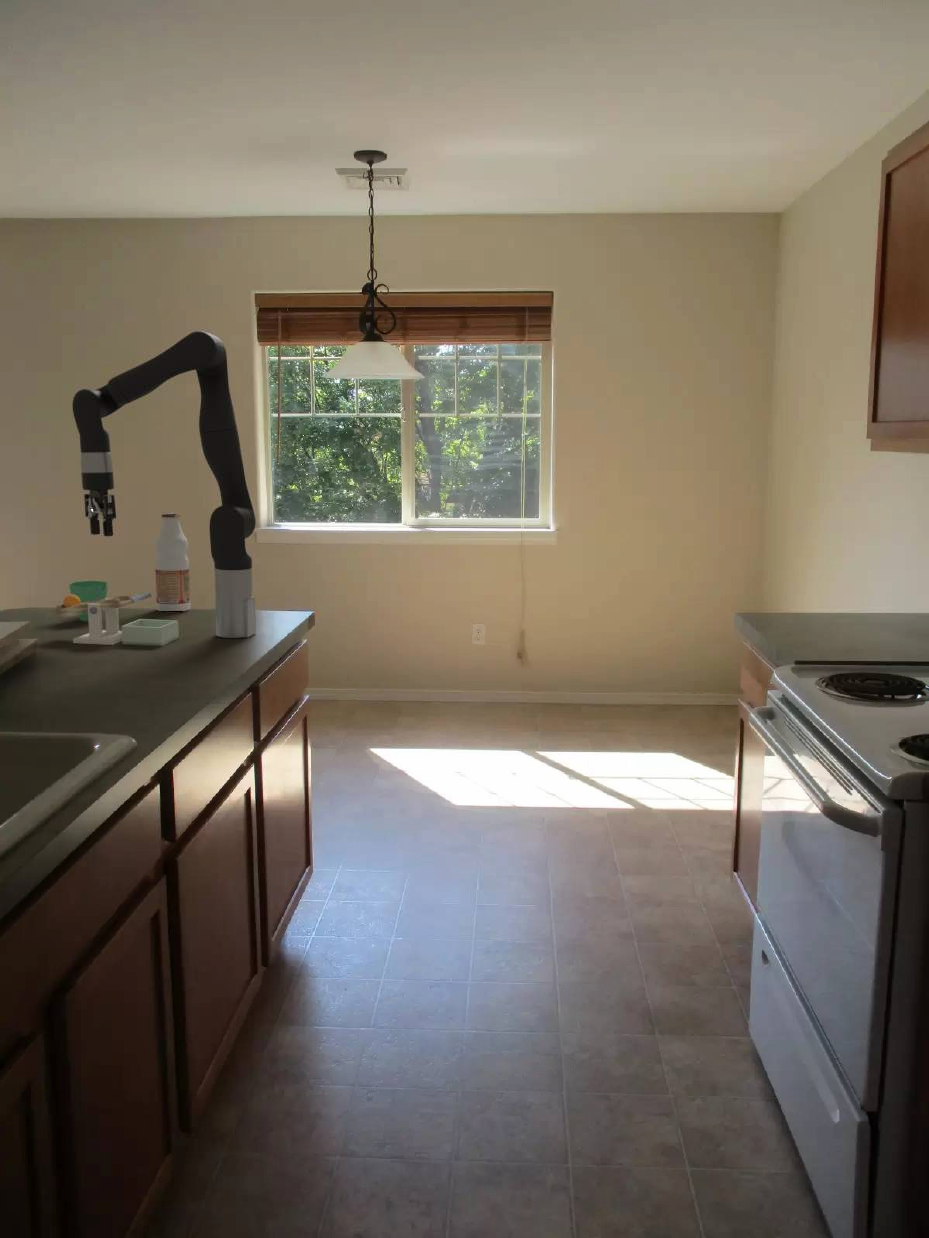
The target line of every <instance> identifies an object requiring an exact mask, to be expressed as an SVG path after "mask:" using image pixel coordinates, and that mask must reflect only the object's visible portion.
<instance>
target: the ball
mask: <svg viewBox="0 0 929 1238" xmlns="http://www.w3.org/2000/svg"><path fill="white" fill-rule="evenodd" d="M62 604H64V606H65V608H67V607H73V606H78V605H81V601H80V598H79V597H78V596H76V595H73V594H71V593H70V594H69V595H66V596H65V597H64V599H63V603H62Z"/></svg>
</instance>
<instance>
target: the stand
mask: <svg viewBox="0 0 929 1238" xmlns="http://www.w3.org/2000/svg"><path fill="white" fill-rule="evenodd" d="M108 598H109V597H106V598H105V599H108ZM104 612H105V629H103V618H102V613H103V612H101V604H90V603H89V604H88V620H89V621H88V633H85V634H83V635H80V636H77V637H74V638H73V639H72V642H73V644H85V645H87V644H88V645H107V646H108V645H109V646H111V645H112V646H113V645H116V644H119V643H120V642H122V630H120V626H119V625H120V623H119V608H114V609H108V610H104Z"/></svg>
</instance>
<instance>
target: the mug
mask: <svg viewBox="0 0 929 1238" xmlns="http://www.w3.org/2000/svg"><path fill="white" fill-rule="evenodd" d="M68 587H69V591H70V592H69V593H70V595H71V594H73V595H76V596H78V597H79V598H80V601H81V603H86V602H91V601H97V600H102V599H105V598H107V594H108V588H109V584H108V582H106V581H103V580H101V581H99V580H86V581H85V580H84V581H83V580H82V581H75V582H70V583H68ZM103 611H104V610H103ZM103 611H101V612H102V613H103ZM78 617H79V620H80V621H81V622H89V620H88V613H86V614H80V615H78Z"/></svg>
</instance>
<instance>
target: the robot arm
mask: <svg viewBox="0 0 929 1238" xmlns="http://www.w3.org/2000/svg"><path fill="white" fill-rule="evenodd" d="M228 369H229V368H228V356H227V349H226V346H225V345H224V342H223V341H222V340H221V339H220V338H219V337H218V336H216V335H215V334H212V333H208V332H207V331H202V330H197V331H193V332H191V333H188V334H187V335H186V336H184V337H183V338H181V339H180V340H178V342H176V343H175V344H173V345H171V346H170V347H169V348H168V349H166V350H164V351H163V352H161V353H160V354H158V355H156V356H155V357H153V358H151V359H149V360H146V361H145V362H143V363H140V364H138V365H137V366H135V367H133V368H130V369H128V370H126V371H124V372H123V373H122V372H121V373H120V374H117V375H116V376H113V377H112V378H111V379H109V380H108V381H107V384H105V385H104V386H102V387H100V388H97V389H92V388H91V389H88V388H83V389H79V390H77V392H76V393H75V394H74V396H73V399H72V407H71V408H72V413H73V417H74V420H75V424H76V428H77V431H78V434H79V445H80V472H81V473H80V474H81V485H82V489H83V490H84V491H89V493H84V496H83V497H84V513H85V515H84V516H85V517H86V518H87V519H88V520H89V525H90V534H91V535H94V536H95V535H100V534H101V525H100V518H101V520H102V531H103V532H102V534H103V536H104V537H112V536H113V535H114V527H113V521H114V519H117V512H116V511H117V510H116V502H115V500H116V499H115V495H114V494H109V490H111V491H112V490H114V488H115V483H114V482H115V481H114V467H113V459H112V454H111V442H110V434H109V432H108V430H106V429H105V428H104V425H103V420H102V419H103V418H107V417H108V416H110V415H112V414H114V413H115V412H117V411H118V410H120V409H122V408H123V407H124V406H125V405H127V404H130V403H132V402H134V401H136V400H139V399H141V398H142V397H145V396H147V395H149V394H151V393H152V392H154V391H155V390H157V388H159V387H160V386H161V385H163V384H164V383H166V382H167V381H168V380H170V379H172V378H175V377H176V376H179V375H181V374H185V373H188V372H191V371H195V372H196V375H197V381H198V385H199V389H200V390H199V391H200V407H199V415H198V431H199V439H200V443H201V447H202V452H203V455H204V457H205V460H206V462H207V464H208V467H209V469H210V470H211V472H212V474H213V476H214V477H215V478H214V479H215V480H216V482H217V485H218V488H219V493H220V498H221V505H220V506H217V508H215V509H214V510H213V511H212V513H211V515H210V518H209V540H210V543H209V544H210V553H211V558H212V560H213V562H214V563H213V564H214V599H215V600H214V601H215V605H214V606H215V635H216V637H220V638H226V639H239V638H250V637H252V636H253V635H255V634H257V629H256V628H257V626H256V625H257V624H256V623H257V622H256V620H257V619H256V613H257V612H256V596H253V560H252V557H251V556H250V555H249V554H248V553H247V549H246V539H247V538H249V537H250V536H251V535H252V534H253V533H254V531H255V528H256V524H257V522H256V516H255V512H254V506H253V504H252V500H251V496H250V493H249V488H248V485H247V481H246V476H245V475H246V474H245V468H244V462H243V457H242V450H241V441H240V437H239V430H238V427H237V422H236V416H235V410H234V407H233V406H234V405H233V400H232V397H231V391H230V383H229V372H228Z"/></svg>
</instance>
